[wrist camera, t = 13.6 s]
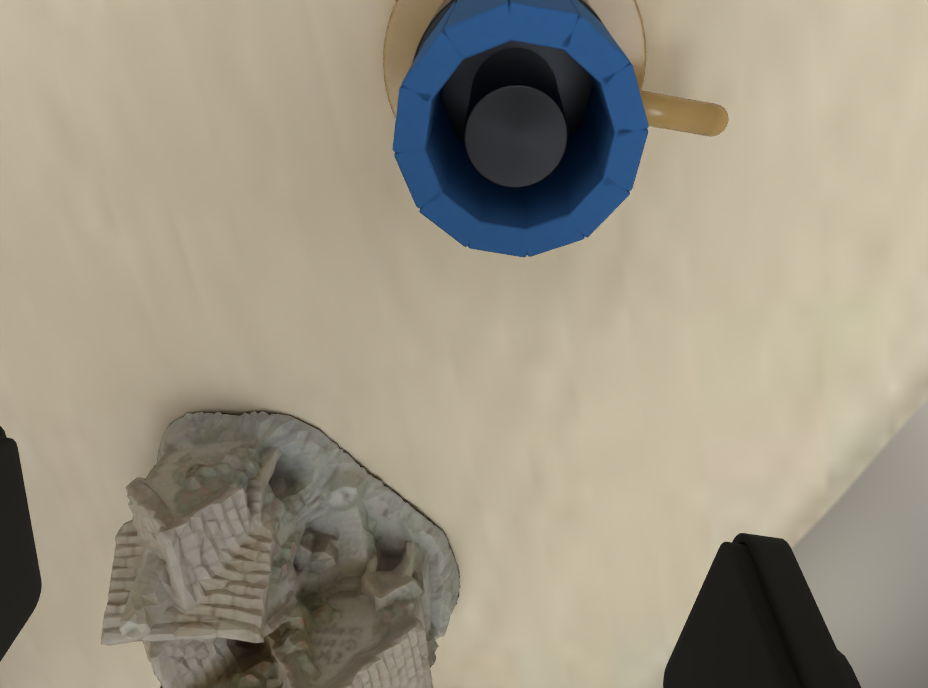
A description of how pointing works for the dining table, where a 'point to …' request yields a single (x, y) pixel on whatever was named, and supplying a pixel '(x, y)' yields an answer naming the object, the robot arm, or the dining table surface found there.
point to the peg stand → (530, 92)
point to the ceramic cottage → (276, 564)
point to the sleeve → (589, 148)
